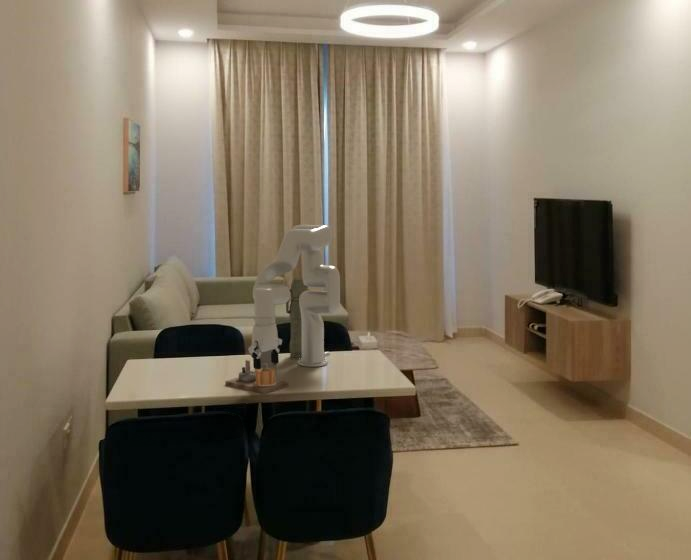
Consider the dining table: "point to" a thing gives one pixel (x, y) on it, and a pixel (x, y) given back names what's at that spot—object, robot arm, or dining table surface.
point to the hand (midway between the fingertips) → (266, 365)
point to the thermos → (296, 317)
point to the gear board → (256, 388)
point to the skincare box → (267, 360)
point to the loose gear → (265, 377)
